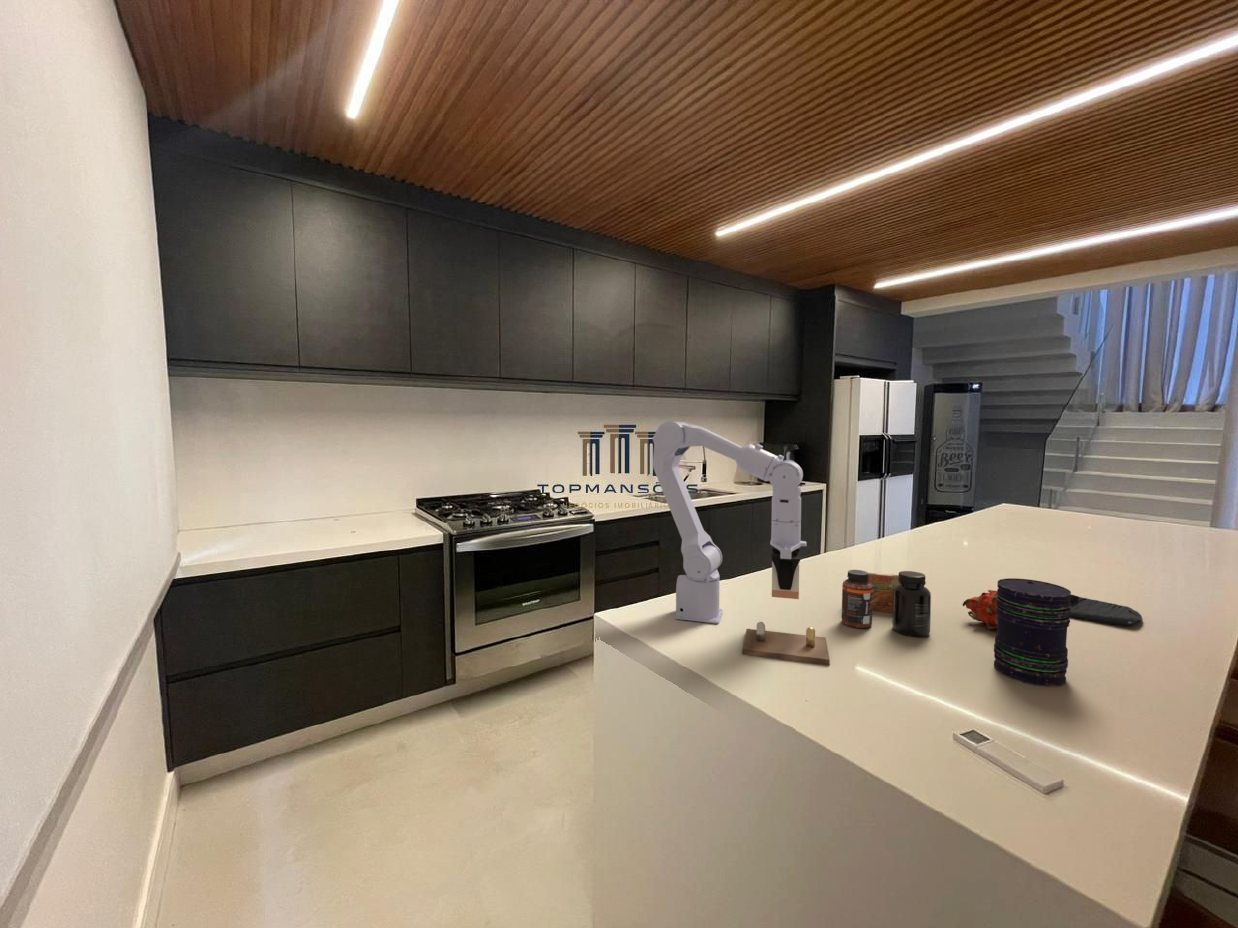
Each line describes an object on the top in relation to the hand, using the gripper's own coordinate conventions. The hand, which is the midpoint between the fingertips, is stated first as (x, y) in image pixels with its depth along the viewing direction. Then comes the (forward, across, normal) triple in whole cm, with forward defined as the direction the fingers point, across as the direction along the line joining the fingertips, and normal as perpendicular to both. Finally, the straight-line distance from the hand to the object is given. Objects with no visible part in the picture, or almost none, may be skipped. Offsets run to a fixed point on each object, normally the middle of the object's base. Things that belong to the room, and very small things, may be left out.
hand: (785, 584), depth 106 cm
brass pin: (+8, -9, -5) cm, 13 cm away
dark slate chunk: (+10, +30, -62) cm, 70 cm away
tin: (+10, +18, -22) cm, 30 cm away
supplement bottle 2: (+10, +6, -25) cm, 27 cm away
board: (+9, -9, 0) cm, 13 cm away
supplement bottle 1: (+10, +8, -15) cm, 19 cm away
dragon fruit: (+10, +13, -42) cm, 45 cm away
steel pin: (+8, -9, +4) cm, 13 cm away
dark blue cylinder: (+10, -8, -40) cm, 41 cm away
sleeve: (+2, 0, 0) cm, 2 cm away
